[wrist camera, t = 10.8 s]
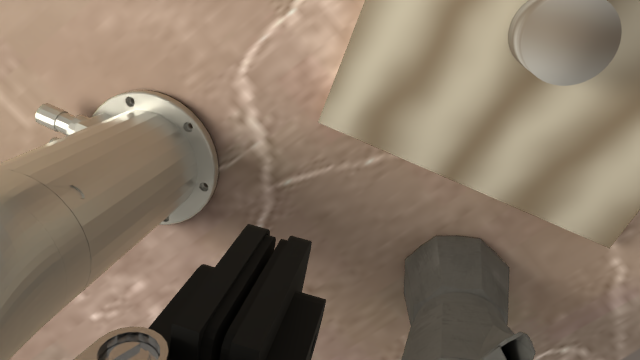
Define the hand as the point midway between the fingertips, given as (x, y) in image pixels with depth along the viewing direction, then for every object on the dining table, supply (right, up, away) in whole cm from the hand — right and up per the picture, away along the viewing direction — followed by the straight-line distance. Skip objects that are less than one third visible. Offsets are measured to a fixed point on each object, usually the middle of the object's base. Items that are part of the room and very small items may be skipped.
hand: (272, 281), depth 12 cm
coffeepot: (+13, -7, +30) cm, 33 cm away
